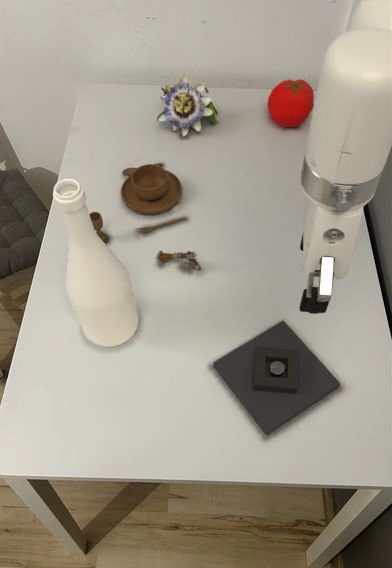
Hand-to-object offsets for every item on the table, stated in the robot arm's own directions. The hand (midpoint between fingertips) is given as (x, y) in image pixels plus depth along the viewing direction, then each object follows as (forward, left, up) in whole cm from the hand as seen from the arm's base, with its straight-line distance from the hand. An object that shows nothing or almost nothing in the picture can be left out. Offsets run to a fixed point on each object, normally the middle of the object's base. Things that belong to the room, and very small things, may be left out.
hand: (312, 278), depth 64 cm
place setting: (+23, -38, -20) cm, 48 cm away
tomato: (-13, -57, -20) cm, 62 cm away
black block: (+4, +4, -18) cm, 19 cm away
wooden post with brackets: (+16, -21, -20) cm, 33 cm away
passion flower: (+9, -60, -20) cm, 64 cm away
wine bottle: (+29, -10, -20) cm, 36 cm away
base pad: (+4, +4, -19) cm, 20 cm away
